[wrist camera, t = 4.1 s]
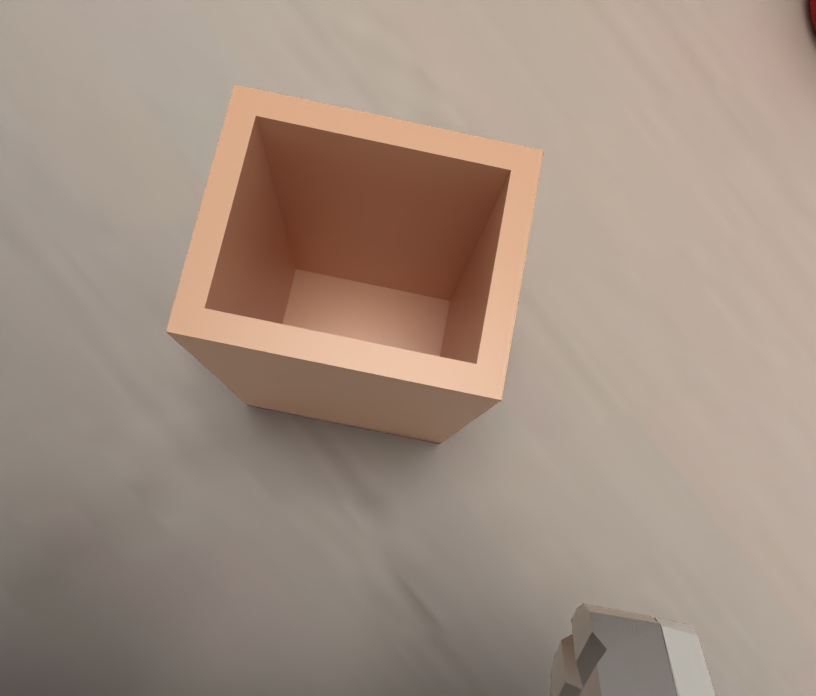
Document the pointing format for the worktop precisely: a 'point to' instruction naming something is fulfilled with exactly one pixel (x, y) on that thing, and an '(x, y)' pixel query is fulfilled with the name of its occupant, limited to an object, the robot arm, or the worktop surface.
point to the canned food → (813, 12)
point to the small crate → (357, 265)
